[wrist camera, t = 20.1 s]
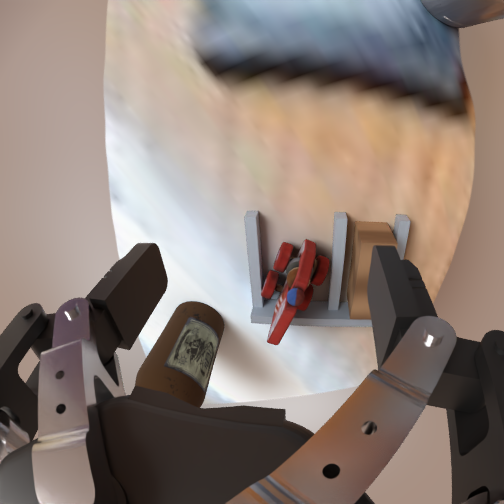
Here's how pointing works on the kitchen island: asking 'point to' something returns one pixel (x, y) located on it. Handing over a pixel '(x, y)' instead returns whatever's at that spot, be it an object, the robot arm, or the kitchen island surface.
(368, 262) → the wing block
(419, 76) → the kitchen island surface
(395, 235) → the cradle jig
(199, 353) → the olive oil
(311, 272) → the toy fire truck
